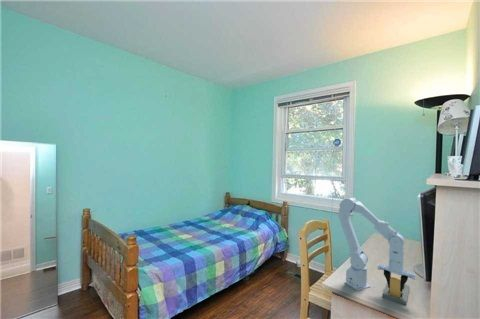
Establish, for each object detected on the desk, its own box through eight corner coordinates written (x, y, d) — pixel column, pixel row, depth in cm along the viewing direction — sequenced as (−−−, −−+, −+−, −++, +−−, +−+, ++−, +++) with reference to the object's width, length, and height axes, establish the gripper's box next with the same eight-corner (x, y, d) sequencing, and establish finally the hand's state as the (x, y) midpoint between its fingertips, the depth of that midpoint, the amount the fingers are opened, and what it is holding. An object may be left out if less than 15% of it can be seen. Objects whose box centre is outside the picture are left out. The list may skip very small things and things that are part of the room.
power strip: (406, 305, 102) (406, 301, 102) (382, 296, 107) (382, 293, 107) (409, 288, 115) (409, 285, 115) (388, 282, 121) (388, 279, 121)
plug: (400, 298, 105) (400, 281, 105) (389, 294, 108) (390, 278, 108) (400, 294, 108) (401, 278, 109) (390, 291, 111) (391, 275, 111)
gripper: (416, 262, 107) (415, 291, 106) (379, 253, 116) (379, 280, 116) (415, 267, 101) (414, 298, 101) (377, 257, 110) (376, 286, 110)
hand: (395, 289), depth 108 cm, fingers closed on plug, 4 cm apart
